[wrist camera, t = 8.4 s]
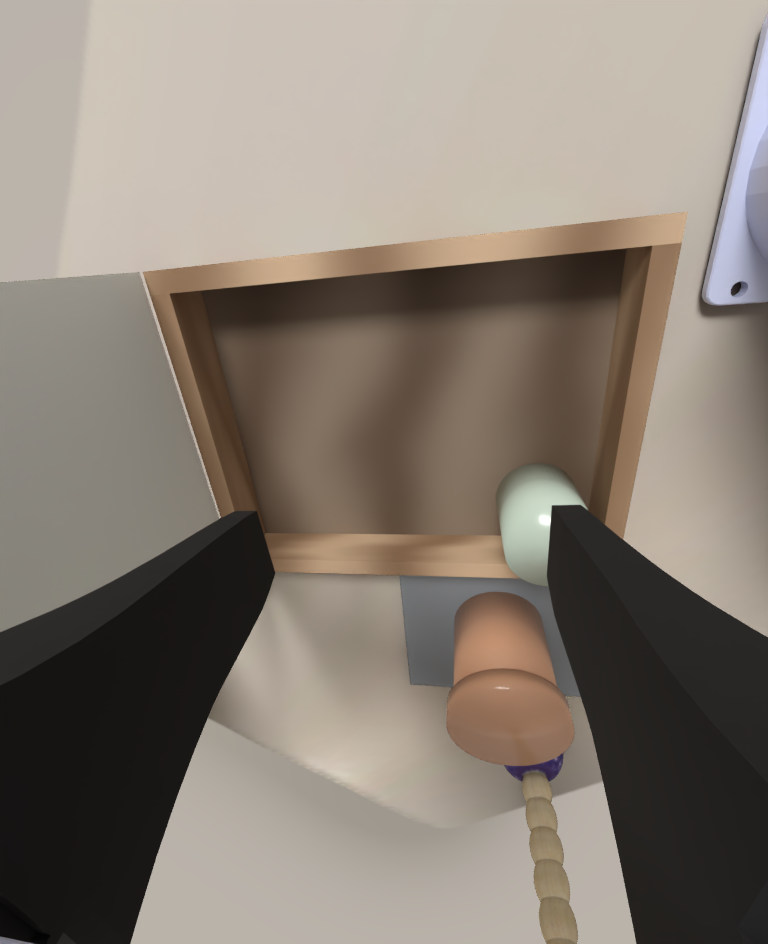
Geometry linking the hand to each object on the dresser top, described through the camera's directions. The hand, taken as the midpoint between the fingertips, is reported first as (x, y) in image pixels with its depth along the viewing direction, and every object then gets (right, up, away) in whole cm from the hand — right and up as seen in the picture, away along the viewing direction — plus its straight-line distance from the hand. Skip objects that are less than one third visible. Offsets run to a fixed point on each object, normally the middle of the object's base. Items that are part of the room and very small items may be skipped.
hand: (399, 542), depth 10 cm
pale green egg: (+7, +1, +9) cm, 12 cm away
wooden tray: (+1, +4, +9) cm, 10 cm away
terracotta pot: (+6, -7, +13) cm, 16 cm away
